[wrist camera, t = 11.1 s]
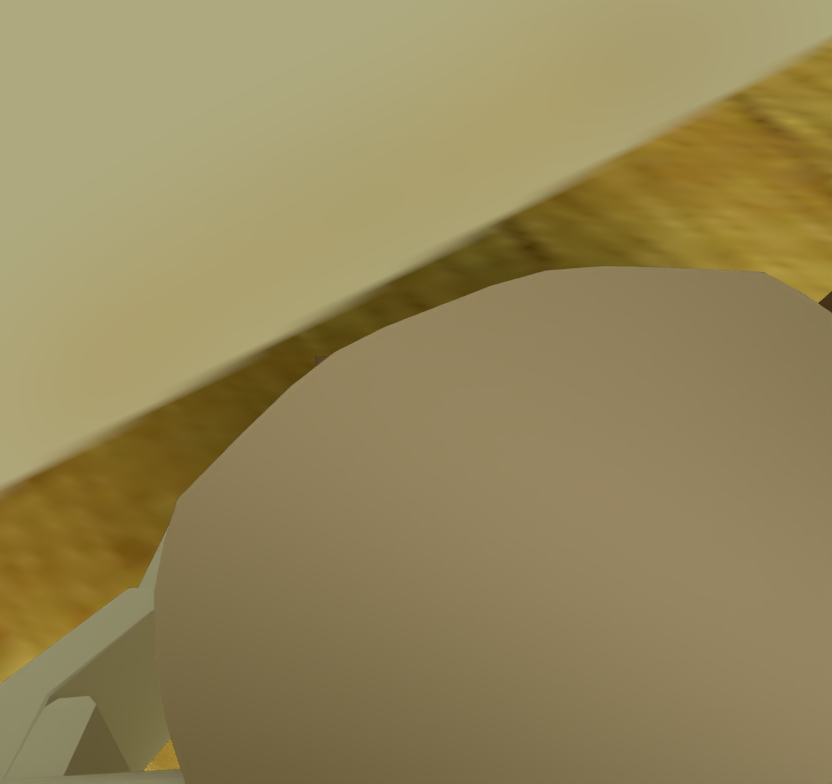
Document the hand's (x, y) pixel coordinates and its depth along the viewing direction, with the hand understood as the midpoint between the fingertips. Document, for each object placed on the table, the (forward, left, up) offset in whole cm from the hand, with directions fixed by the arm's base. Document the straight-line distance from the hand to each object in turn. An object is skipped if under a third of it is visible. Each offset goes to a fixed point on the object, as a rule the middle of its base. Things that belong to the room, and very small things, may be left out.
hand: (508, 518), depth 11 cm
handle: (0, -1, -10) cm, 10 cm away
